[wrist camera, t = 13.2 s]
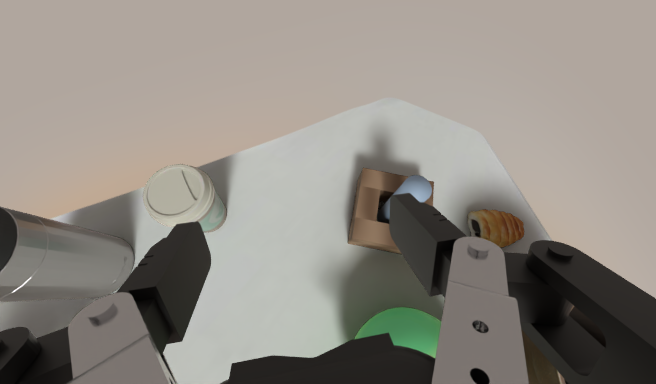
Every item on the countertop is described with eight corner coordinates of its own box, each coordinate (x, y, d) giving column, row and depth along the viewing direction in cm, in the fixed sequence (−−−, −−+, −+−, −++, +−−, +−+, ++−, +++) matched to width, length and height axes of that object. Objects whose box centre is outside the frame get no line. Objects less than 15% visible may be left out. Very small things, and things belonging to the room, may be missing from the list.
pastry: (511, 210, 48) (527, 204, 44) (522, 247, 45) (540, 244, 42) (462, 213, 47) (475, 207, 43) (472, 250, 45) (486, 247, 41)
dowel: (375, 224, 45) (402, 198, 32) (378, 205, 46) (404, 172, 33) (395, 228, 45) (431, 204, 32) (397, 209, 46) (432, 178, 33)
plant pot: (589, 389, 38) (771, 456, 23) (492, 423, 36) (623, 522, 21) (534, 276, 43) (653, 270, 28) (447, 300, 41) (526, 308, 26)
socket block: (347, 243, 43) (352, 238, 39) (358, 179, 48) (363, 167, 43) (417, 257, 43) (430, 253, 39) (421, 192, 48) (433, 181, 43)
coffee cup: (230, 241, 42) (202, 224, 31) (177, 239, 42) (129, 222, 31) (238, 193, 45) (214, 161, 34) (188, 191, 45) (148, 158, 34)
